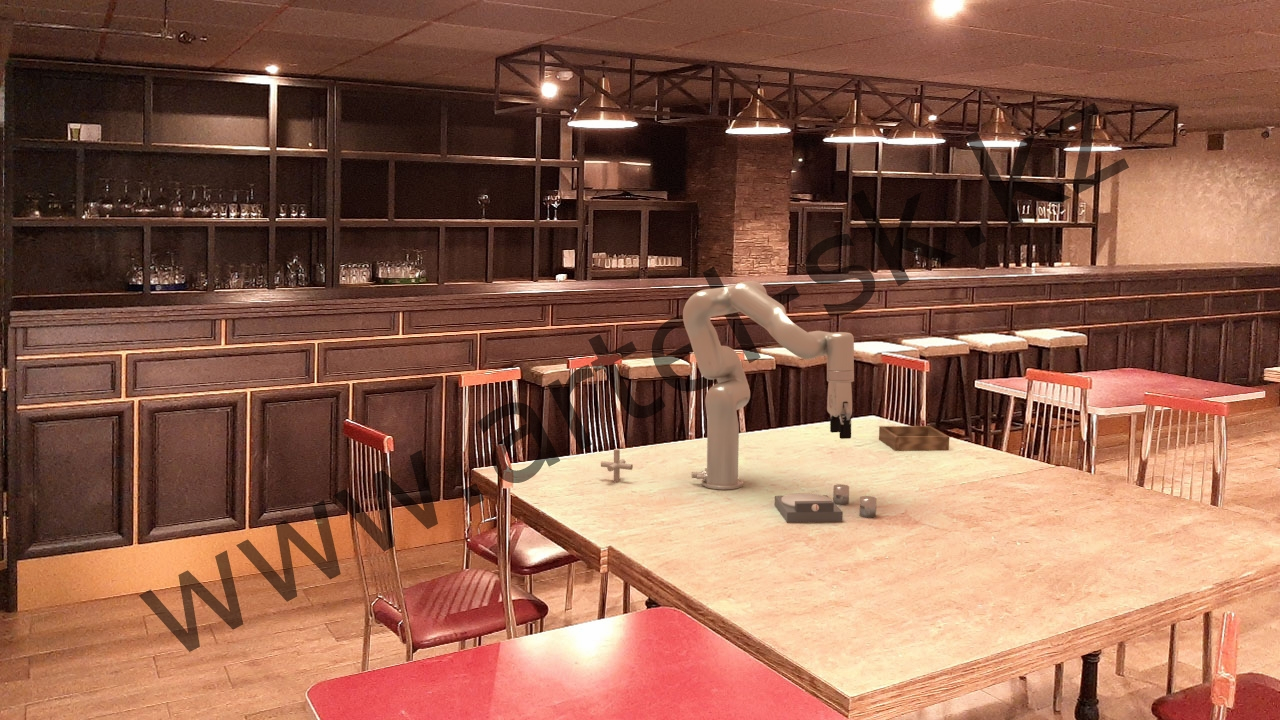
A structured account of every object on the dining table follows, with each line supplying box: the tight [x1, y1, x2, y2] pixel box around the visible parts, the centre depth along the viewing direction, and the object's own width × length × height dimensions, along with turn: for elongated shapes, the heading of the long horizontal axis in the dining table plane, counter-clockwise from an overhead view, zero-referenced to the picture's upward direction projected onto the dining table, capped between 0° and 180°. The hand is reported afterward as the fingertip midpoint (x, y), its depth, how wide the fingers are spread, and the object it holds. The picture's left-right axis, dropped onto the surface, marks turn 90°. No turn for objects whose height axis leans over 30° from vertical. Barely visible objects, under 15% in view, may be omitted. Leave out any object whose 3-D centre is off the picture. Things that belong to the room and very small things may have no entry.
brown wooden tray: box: [878, 425, 950, 452], centre depth 373 cm, size 19×19×5 cm
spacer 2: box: [858, 495, 877, 519], centre depth 281 cm, size 4×4×5 cm
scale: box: [774, 492, 844, 524], centre depth 283 cm, size 15×17×5 cm
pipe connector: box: [600, 448, 634, 483], centre depth 317 cm, size 10×10×10 cm
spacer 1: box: [832, 484, 850, 506], centre depth 294 cm, size 4×4×5 cm
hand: (840, 435), depth 294 cm, fingers open, 9 cm apart
